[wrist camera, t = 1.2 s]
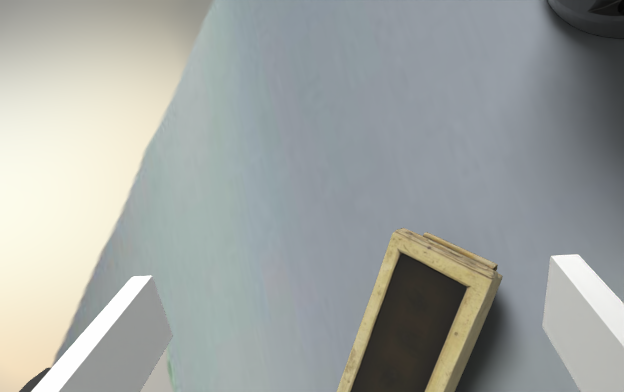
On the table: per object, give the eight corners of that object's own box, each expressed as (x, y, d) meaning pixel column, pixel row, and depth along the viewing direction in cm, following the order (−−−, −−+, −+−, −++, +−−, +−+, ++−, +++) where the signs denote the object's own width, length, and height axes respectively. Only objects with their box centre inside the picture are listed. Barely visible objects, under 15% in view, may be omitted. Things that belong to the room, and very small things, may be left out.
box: (518, 266, 29) (494, 272, 25) (420, 518, 33) (386, 554, 29) (420, 224, 34) (388, 224, 30) (345, 444, 38) (309, 467, 34)
